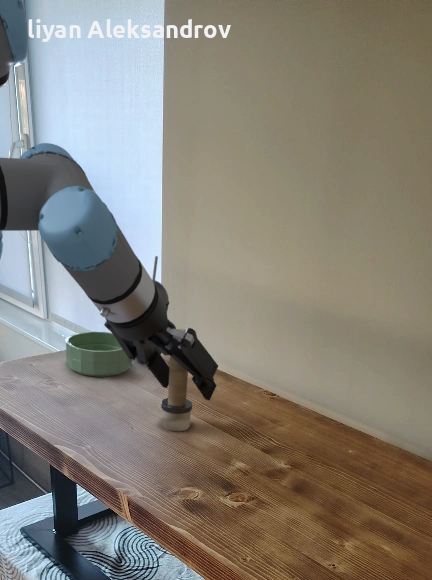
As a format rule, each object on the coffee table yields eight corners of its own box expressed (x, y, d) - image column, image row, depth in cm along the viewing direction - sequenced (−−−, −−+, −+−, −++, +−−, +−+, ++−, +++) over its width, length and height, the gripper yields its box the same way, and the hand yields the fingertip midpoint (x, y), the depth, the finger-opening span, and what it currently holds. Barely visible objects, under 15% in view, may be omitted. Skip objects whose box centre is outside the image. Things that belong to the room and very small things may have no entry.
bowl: (56, 372, 114) (55, 346, 112) (81, 353, 124) (80, 328, 122) (119, 381, 113) (119, 355, 110) (139, 361, 123) (139, 336, 121)
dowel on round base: (156, 429, 97) (160, 333, 89) (164, 417, 101) (168, 325, 93) (187, 433, 96) (193, 338, 89) (193, 421, 100) (200, 329, 93)
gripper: (53, 309, 81) (127, 391, 102) (184, 342, 73) (235, 424, 94) (79, 261, 83) (147, 351, 103) (210, 289, 75) (255, 381, 95)
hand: (189, 386), depth 98 cm, fingers open, 7 cm apart
